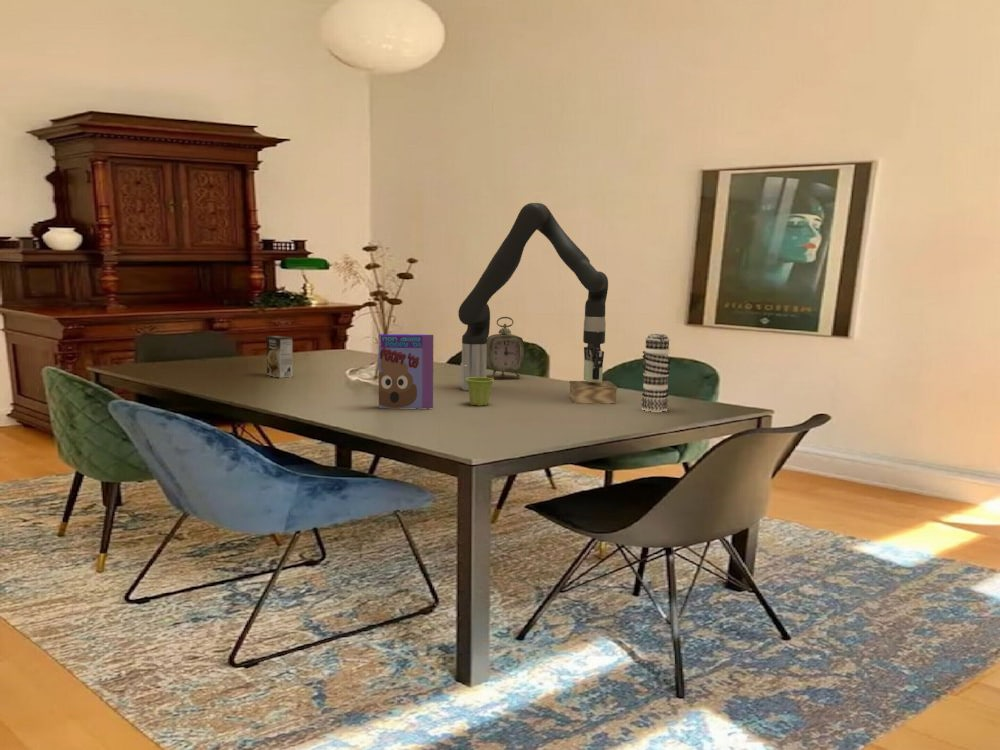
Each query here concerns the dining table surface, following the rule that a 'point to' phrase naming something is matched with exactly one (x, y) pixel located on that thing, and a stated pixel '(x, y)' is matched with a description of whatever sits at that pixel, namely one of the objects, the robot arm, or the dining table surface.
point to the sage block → (591, 372)
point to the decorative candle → (656, 373)
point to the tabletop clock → (505, 351)
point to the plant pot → (479, 390)
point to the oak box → (593, 392)
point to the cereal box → (405, 371)
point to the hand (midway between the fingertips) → (592, 377)
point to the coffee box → (279, 356)
